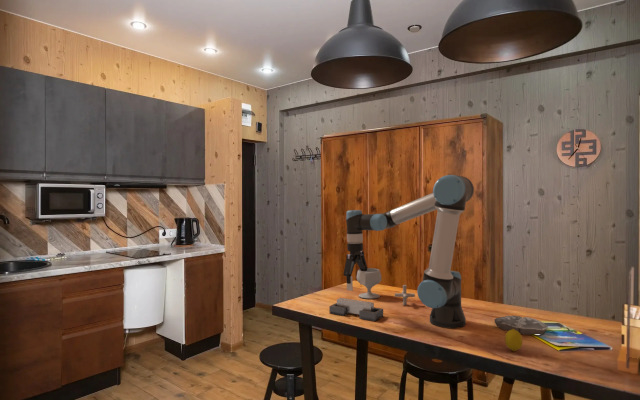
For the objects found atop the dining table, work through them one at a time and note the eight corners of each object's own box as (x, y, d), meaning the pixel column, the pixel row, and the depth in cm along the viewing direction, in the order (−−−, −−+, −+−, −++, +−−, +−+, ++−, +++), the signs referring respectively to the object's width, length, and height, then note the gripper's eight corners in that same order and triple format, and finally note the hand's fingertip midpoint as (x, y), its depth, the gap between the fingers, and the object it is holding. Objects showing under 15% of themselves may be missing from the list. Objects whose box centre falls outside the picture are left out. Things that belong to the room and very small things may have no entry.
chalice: (372, 301, 204) (371, 273, 204) (351, 296, 213) (351, 270, 213) (386, 296, 214) (386, 269, 214) (366, 292, 224) (366, 266, 224)
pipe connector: (413, 302, 201) (413, 283, 201) (416, 307, 191) (415, 287, 191) (394, 301, 202) (393, 283, 202) (396, 307, 192) (395, 287, 192)
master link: (373, 314, 177) (373, 302, 177) (370, 316, 174) (370, 304, 174) (340, 308, 187) (340, 297, 187) (336, 310, 184) (336, 299, 184)
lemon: (504, 352, 135) (503, 329, 135) (506, 347, 139) (506, 325, 139) (521, 355, 131) (521, 332, 131) (523, 350, 136) (523, 328, 136)
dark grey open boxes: (383, 316, 178) (383, 308, 178) (375, 321, 170) (375, 313, 170) (338, 308, 190) (338, 301, 190) (329, 313, 183) (329, 306, 183)
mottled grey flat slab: (548, 327, 161) (548, 320, 161) (546, 339, 146) (546, 332, 146) (498, 319, 171) (498, 313, 171) (491, 330, 157) (491, 323, 157)
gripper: (359, 239, 193) (361, 281, 192) (335, 245, 172) (336, 292, 171) (373, 240, 189) (374, 282, 188) (349, 245, 168) (351, 293, 167)
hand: (356, 287), depth 180 cm, fingers open, 13 cm apart
